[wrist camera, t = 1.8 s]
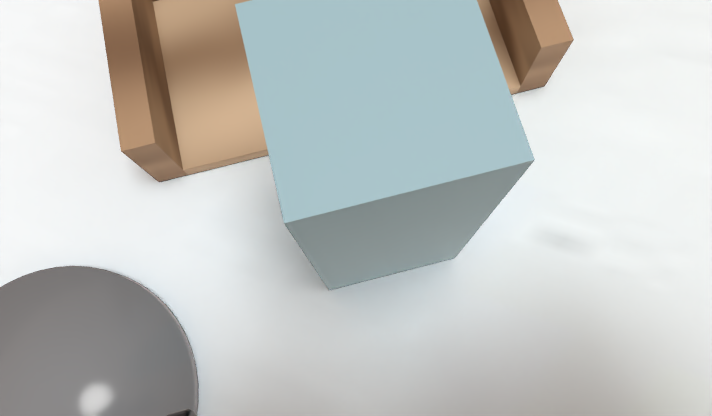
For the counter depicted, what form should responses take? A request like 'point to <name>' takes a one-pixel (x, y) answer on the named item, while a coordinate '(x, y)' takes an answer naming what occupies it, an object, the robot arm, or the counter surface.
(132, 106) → the open-sided box
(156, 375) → the coaster
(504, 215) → the counter surface
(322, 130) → the block
